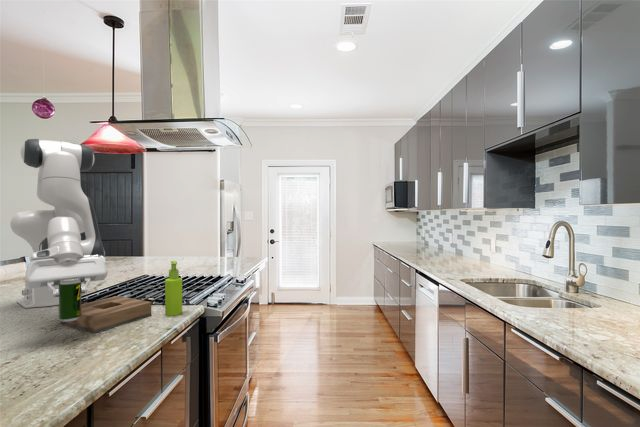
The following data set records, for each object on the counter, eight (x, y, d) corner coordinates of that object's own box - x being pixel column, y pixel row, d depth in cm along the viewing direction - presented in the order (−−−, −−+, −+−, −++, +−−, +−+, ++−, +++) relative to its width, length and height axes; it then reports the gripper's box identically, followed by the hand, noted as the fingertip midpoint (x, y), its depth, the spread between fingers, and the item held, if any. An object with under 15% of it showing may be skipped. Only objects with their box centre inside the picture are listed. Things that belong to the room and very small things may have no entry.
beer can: (58, 323, 97) (57, 281, 97) (59, 318, 102) (59, 278, 102) (80, 320, 100) (80, 279, 100) (81, 315, 105) (81, 276, 105)
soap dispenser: (165, 317, 123) (165, 262, 123) (164, 312, 129) (164, 260, 129) (183, 315, 126) (183, 261, 125) (181, 310, 132) (181, 259, 131)
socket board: (60, 323, 117) (60, 309, 116) (117, 308, 134) (117, 295, 134) (95, 333, 108) (95, 317, 108) (151, 315, 125) (151, 302, 125)
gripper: (103, 260, 116) (109, 294, 109) (24, 266, 103) (25, 306, 96) (106, 248, 113) (112, 283, 106) (24, 253, 99) (25, 293, 92)
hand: (70, 294), depth 101 cm, fingers closed on beer can, 5 cm apart
